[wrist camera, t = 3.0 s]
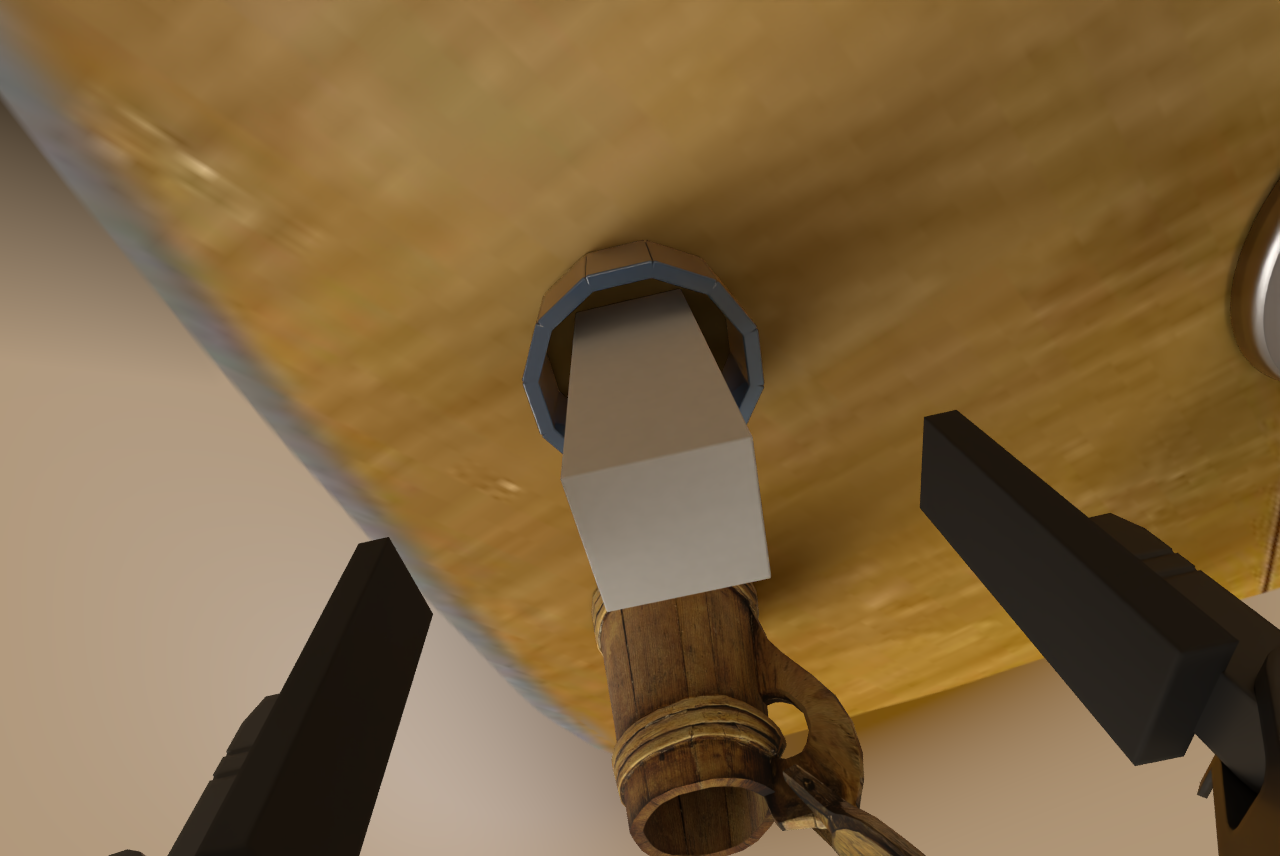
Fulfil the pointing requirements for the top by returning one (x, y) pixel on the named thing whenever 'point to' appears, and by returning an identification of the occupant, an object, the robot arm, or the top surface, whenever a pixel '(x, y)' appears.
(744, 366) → the faceted metal ring
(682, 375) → the grey block
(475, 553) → the top surface
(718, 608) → the wooden mug
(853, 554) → the top surface
